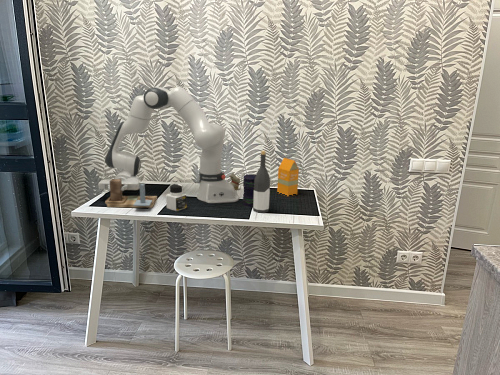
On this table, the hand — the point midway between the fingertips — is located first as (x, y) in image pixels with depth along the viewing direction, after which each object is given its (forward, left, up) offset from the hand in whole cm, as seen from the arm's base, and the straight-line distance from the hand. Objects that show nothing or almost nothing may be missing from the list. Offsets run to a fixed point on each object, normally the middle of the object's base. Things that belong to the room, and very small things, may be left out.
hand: (115, 189), depth 203 cm
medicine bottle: (-30, +4, -8) cm, 32 cm away
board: (-7, -3, -8) cm, 11 cm away
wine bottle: (-72, +6, -8) cm, 73 cm away
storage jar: (-68, -3, -8) cm, 69 cm away
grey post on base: (-14, +6, -5) cm, 17 cm away
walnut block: (0, -1, -7) cm, 7 cm away
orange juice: (-89, -23, -8) cm, 93 cm away
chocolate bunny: (-58, -29, -8) cm, 66 cm away
